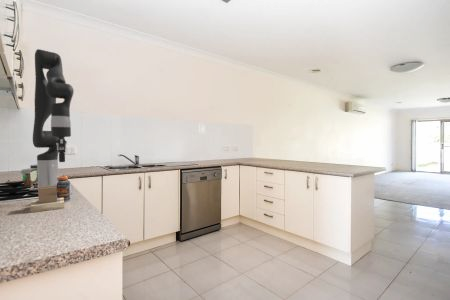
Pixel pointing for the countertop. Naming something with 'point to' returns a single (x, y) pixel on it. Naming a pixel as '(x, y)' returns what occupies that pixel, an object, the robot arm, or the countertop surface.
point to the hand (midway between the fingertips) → (62, 161)
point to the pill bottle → (63, 187)
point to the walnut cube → (47, 194)
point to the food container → (29, 176)
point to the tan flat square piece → (46, 205)
